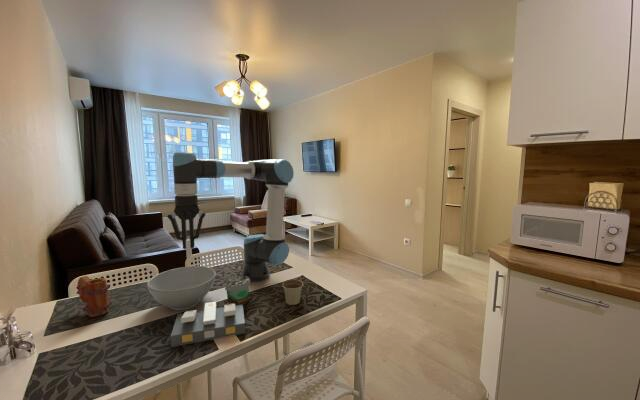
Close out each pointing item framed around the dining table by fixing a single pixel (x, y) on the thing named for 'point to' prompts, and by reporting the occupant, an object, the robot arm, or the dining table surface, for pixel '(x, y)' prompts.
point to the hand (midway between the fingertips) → (189, 256)
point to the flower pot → (292, 291)
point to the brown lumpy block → (94, 295)
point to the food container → (238, 292)
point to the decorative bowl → (181, 286)
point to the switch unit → (207, 327)
